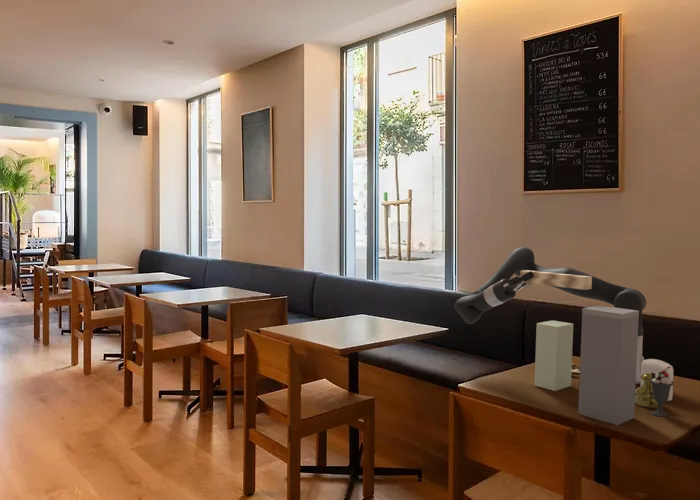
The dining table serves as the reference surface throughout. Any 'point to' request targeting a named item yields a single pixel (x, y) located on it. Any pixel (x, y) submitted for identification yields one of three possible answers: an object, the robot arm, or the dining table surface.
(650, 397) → the gold buddha statue
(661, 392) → the sundae
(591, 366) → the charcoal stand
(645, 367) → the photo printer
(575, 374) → the sushi roll
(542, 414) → the dining table surface
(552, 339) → the sage green pillar
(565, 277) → the ash bar
